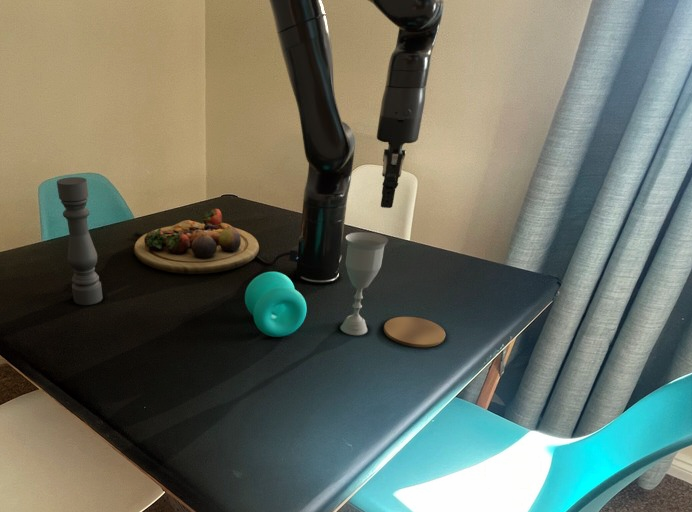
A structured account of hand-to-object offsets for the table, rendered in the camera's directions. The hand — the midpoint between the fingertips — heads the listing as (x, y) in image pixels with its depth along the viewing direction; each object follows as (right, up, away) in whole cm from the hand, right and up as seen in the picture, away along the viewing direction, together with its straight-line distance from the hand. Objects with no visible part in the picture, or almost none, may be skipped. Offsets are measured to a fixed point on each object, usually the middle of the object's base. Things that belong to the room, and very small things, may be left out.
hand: (386, 201), depth 110 cm
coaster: (+3, -27, -6) cm, 27 cm away
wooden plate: (-39, -4, +32) cm, 50 cm away
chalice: (-8, -26, -4) cm, 27 cm away
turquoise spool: (-23, -26, -3) cm, 35 cm away
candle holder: (-62, -19, +9) cm, 65 cm away
